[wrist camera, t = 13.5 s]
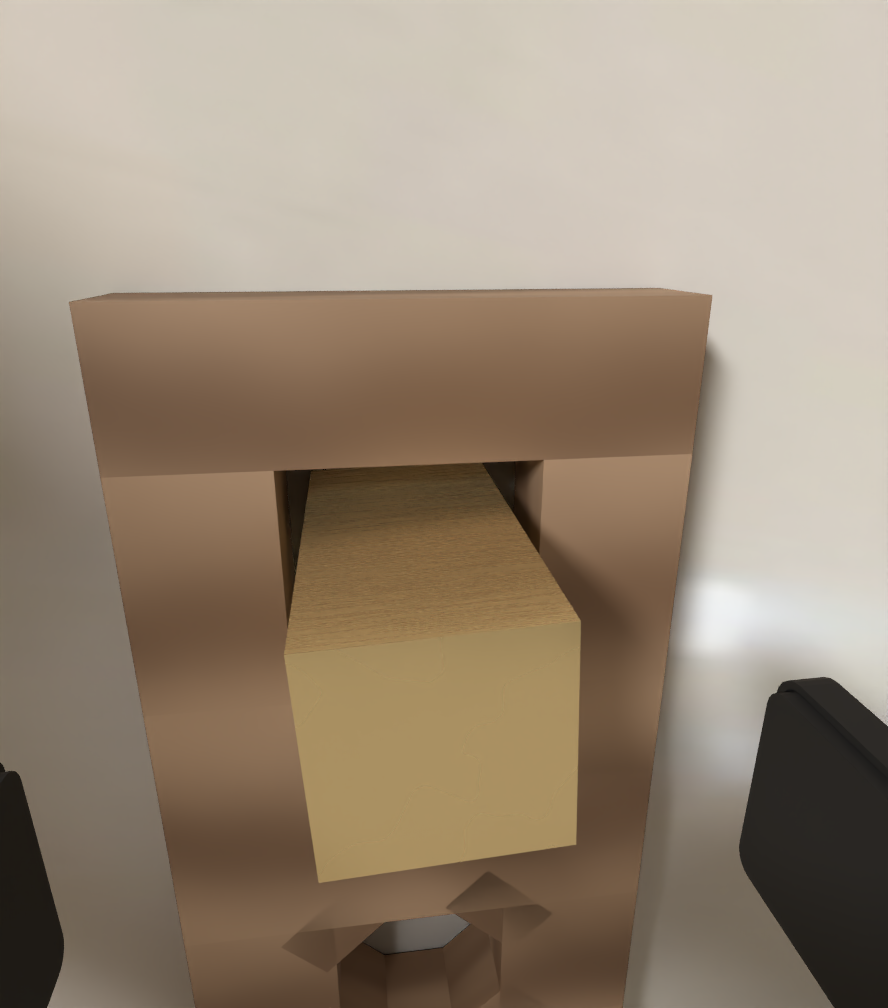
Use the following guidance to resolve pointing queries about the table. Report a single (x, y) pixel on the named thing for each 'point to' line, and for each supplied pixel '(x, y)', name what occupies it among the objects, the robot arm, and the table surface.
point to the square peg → (429, 674)
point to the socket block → (270, 584)
